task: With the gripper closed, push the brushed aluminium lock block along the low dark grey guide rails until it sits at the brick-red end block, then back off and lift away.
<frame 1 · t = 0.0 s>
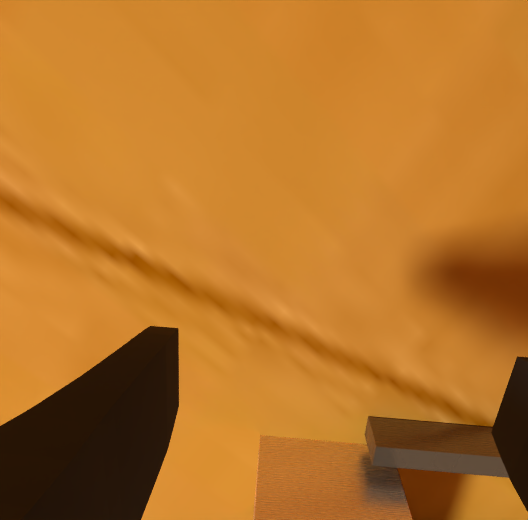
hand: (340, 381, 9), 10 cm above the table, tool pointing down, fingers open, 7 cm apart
guide rails: (518, 493, 23), on the table
lock block: (319, 473, 24), on the table
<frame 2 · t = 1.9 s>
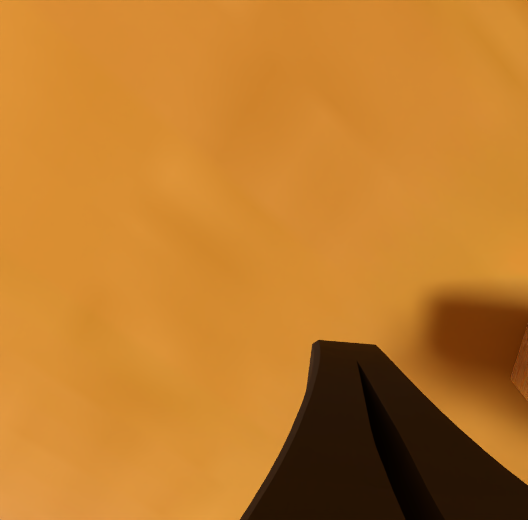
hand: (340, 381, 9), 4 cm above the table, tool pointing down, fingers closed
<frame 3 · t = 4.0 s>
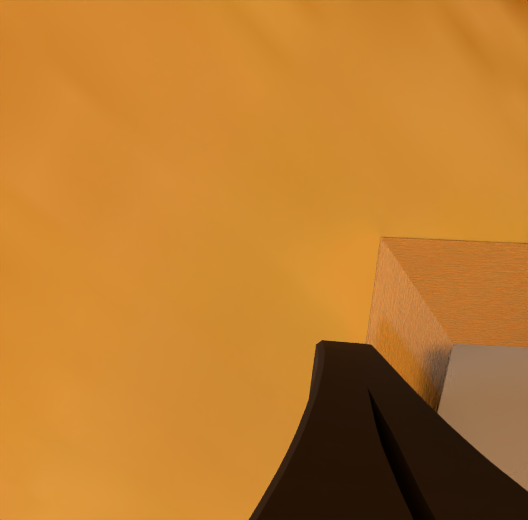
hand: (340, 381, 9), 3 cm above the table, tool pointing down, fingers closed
lock block: (496, 328, 12), on the table, touching gripper
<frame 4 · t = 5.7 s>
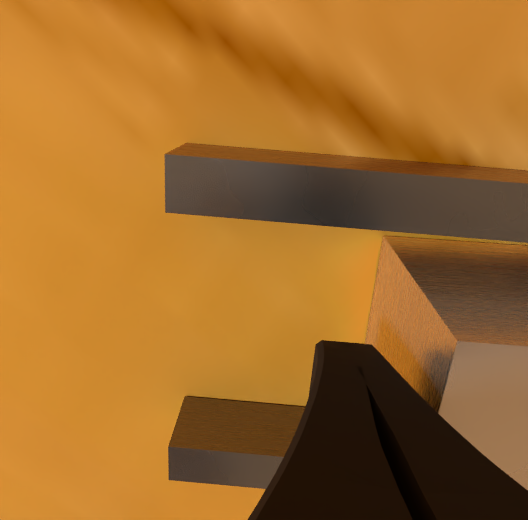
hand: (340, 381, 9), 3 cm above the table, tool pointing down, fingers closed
guide rails: (507, 331, 12), on the table
lock block: (495, 329, 12), resting in guide rails, touching gripper
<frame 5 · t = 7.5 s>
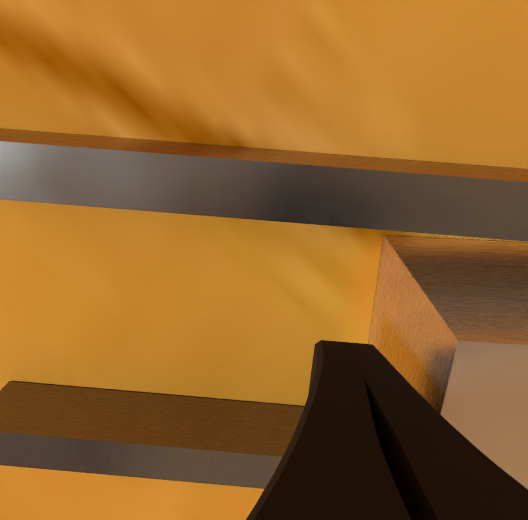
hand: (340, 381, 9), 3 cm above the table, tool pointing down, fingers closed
guide rails: (310, 314, 12), on the table
lock block: (498, 327, 12), resting in guide rails, touching gripper
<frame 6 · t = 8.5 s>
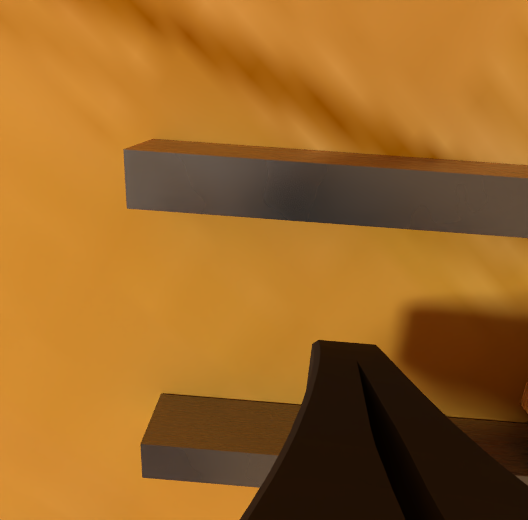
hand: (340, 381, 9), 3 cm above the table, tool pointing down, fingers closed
guide rails: (481, 326, 12), on the table
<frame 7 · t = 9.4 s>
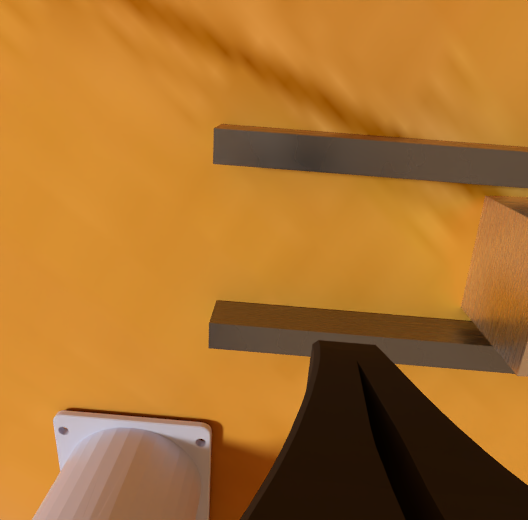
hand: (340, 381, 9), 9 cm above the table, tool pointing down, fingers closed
guide rails: (432, 249, 18), on the table
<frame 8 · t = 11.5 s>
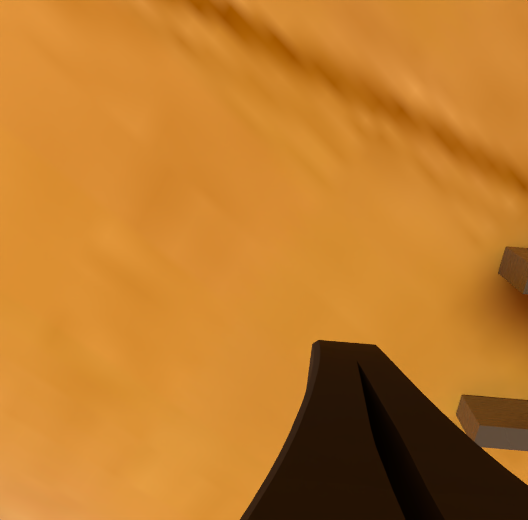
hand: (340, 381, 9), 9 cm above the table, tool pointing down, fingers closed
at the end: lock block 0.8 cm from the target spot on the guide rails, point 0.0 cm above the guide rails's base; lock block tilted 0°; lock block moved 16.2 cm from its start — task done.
